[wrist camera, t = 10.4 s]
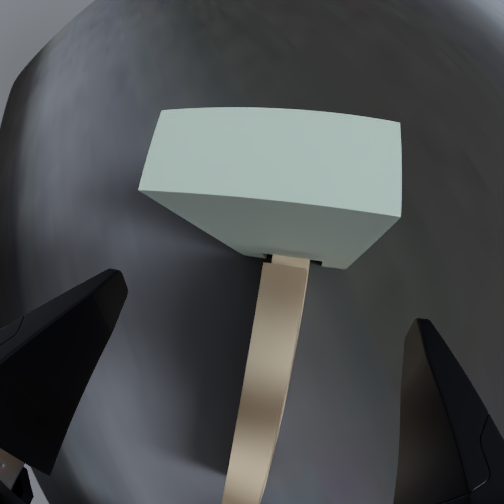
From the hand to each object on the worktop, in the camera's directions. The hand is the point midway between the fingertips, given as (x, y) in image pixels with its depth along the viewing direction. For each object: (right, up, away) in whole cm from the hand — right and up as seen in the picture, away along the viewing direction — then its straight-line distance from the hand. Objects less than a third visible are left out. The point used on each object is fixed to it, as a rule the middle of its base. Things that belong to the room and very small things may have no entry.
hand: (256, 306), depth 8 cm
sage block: (+3, +2, +11) cm, 11 cm away
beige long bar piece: (+2, -4, +10) cm, 11 cm away
